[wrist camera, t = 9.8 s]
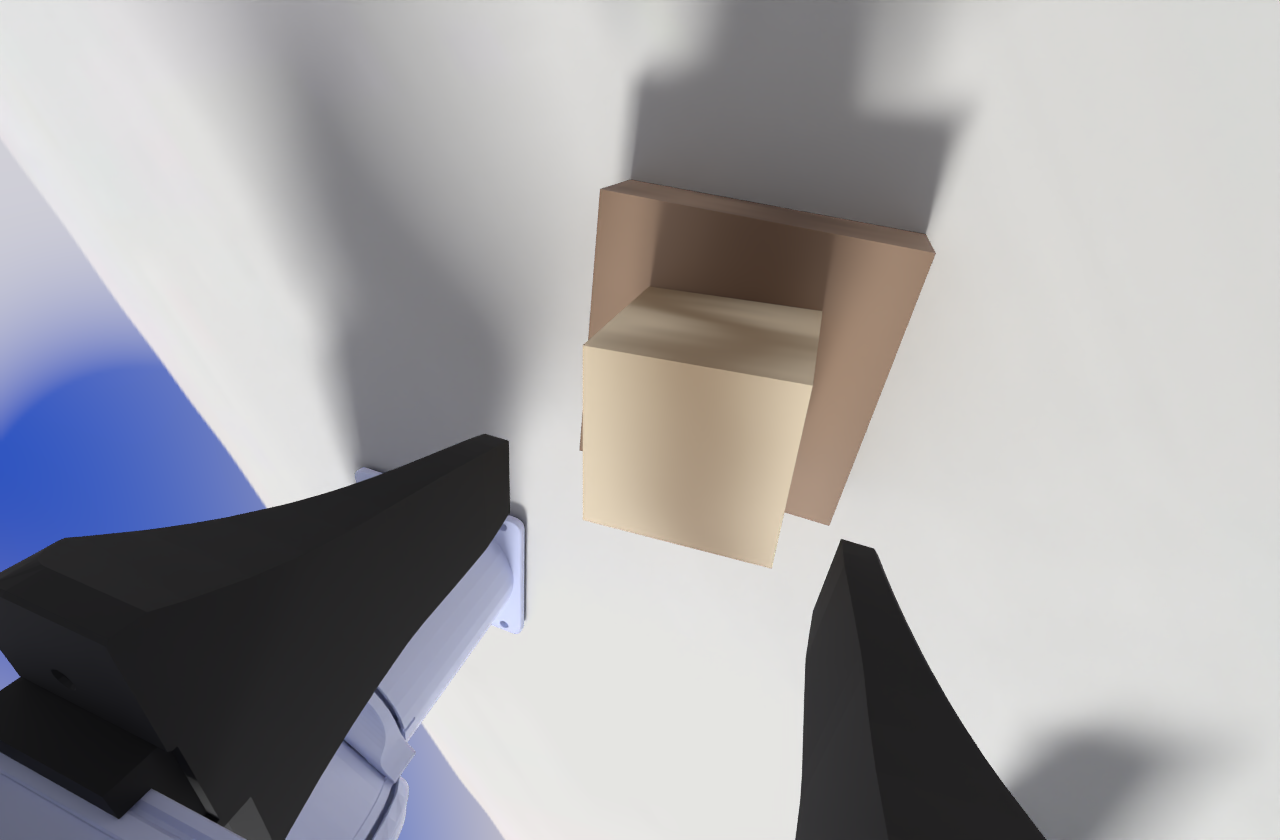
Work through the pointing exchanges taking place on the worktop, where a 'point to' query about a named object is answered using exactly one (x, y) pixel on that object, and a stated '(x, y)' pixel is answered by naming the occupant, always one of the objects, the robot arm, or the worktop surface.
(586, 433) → the maple cube
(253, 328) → the worktop surface
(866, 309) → the walnut block
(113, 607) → the robot arm
